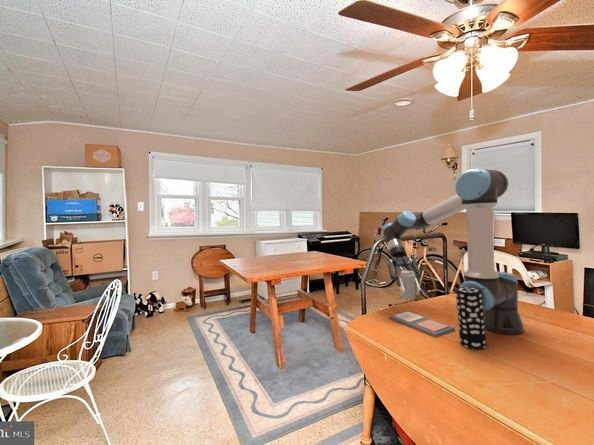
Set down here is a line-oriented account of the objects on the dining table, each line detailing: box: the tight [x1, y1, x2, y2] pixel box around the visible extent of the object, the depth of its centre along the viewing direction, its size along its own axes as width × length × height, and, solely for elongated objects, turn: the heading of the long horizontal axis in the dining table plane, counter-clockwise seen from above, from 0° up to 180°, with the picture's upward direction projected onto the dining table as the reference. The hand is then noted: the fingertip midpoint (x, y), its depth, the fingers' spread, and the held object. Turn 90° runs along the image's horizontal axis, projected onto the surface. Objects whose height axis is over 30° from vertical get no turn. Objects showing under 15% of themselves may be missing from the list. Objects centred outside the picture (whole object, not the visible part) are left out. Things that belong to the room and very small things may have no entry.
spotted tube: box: [455, 286, 488, 350], centre depth 104 cm, size 8×8×20 cm
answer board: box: [388, 310, 456, 338], centre depth 125 cm, size 24×12×2 cm, turn 28°
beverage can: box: [399, 270, 417, 300], centre depth 130 cm, size 6×6×12 cm
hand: (411, 291), depth 126 cm, fingers closed on beverage can, 6 cm apart
